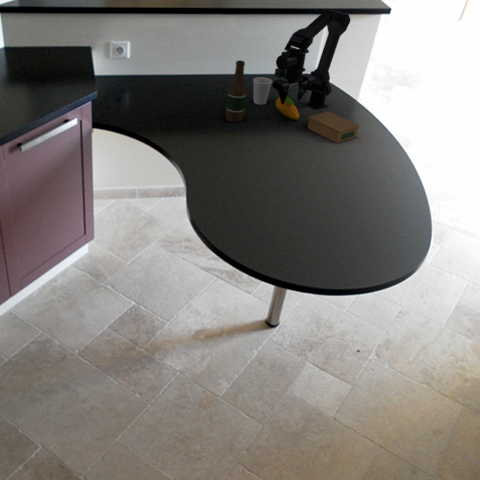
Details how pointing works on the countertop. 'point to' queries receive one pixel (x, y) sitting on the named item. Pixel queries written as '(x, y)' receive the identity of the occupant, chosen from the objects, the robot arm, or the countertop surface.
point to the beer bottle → (236, 95)
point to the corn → (288, 108)
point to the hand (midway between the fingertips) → (290, 102)
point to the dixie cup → (261, 90)
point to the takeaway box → (333, 126)
